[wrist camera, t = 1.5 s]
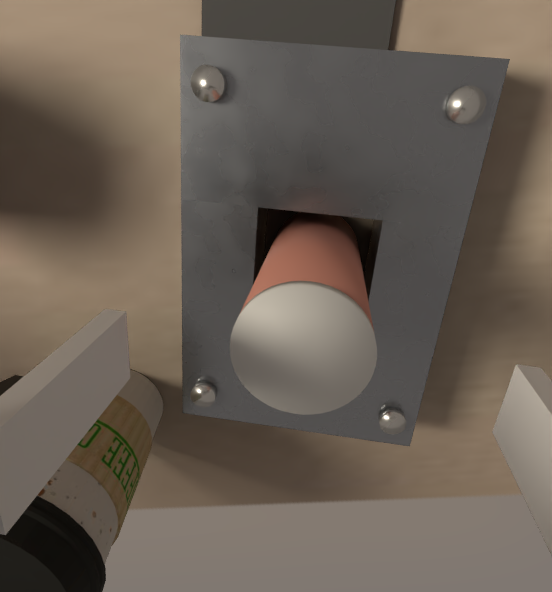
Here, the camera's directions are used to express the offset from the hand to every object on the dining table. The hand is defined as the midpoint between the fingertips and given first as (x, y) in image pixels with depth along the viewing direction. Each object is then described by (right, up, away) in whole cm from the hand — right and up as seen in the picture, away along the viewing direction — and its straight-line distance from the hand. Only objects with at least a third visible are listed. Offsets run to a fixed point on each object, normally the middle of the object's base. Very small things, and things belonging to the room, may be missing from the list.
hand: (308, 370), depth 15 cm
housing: (+1, +5, +13) cm, 14 cm away
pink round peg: (+1, +5, +13) cm, 14 cm away
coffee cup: (-13, -6, +20) cm, 24 cm away
